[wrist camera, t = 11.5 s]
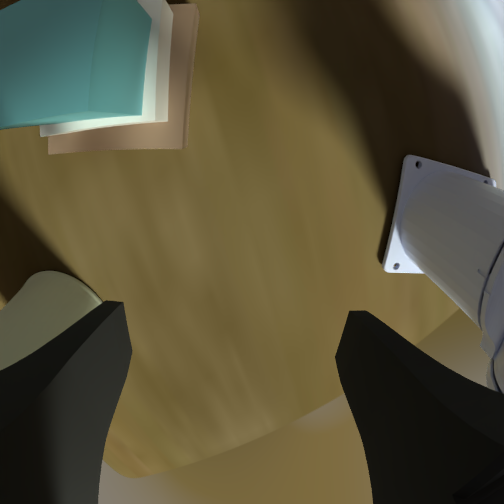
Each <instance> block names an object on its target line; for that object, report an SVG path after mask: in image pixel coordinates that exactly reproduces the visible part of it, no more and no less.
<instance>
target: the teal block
mask: <svg viewBox="0 0 504 504" xmlns="http://www.w3.org/2000/svg"><path fill="white" fill-rule="evenodd" d="M151 23H152V18H151V17H150V16H149V15H148V14H147V12H146V11H145V10H144V9H143V7H142V6H141V5H140V4H139V3H138V1H137V0H20V1H18V2H16V3H14V4H12V5H10V6H8V7H6V8H4V9H2V10H0V130H2V129H9V128H18V127H27V126H37V125H50V124H59V123H66V122H73V121H81V120H90V119H99V118H111V117H124V116H142V105H143V91H144V80H145V69H146V60H147V51H148V44H149V36H150V29H151Z"/></svg>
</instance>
